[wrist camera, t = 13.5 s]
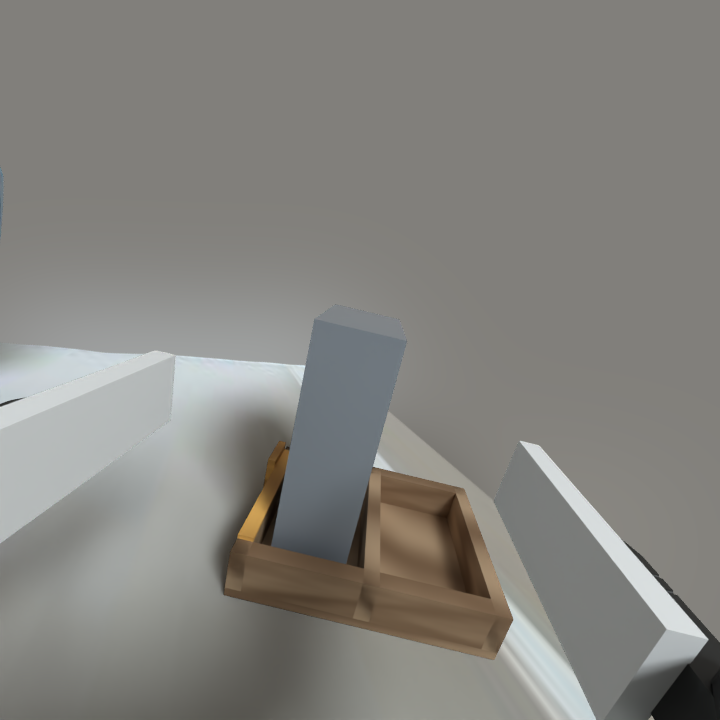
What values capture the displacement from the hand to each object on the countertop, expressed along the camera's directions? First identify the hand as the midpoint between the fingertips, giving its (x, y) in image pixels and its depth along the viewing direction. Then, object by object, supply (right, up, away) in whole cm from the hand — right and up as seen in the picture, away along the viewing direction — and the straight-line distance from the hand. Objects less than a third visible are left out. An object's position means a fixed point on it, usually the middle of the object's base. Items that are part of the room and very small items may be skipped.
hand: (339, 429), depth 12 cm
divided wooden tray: (+1, -12, +14) cm, 18 cm away
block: (-3, -11, +13) cm, 17 cm away
